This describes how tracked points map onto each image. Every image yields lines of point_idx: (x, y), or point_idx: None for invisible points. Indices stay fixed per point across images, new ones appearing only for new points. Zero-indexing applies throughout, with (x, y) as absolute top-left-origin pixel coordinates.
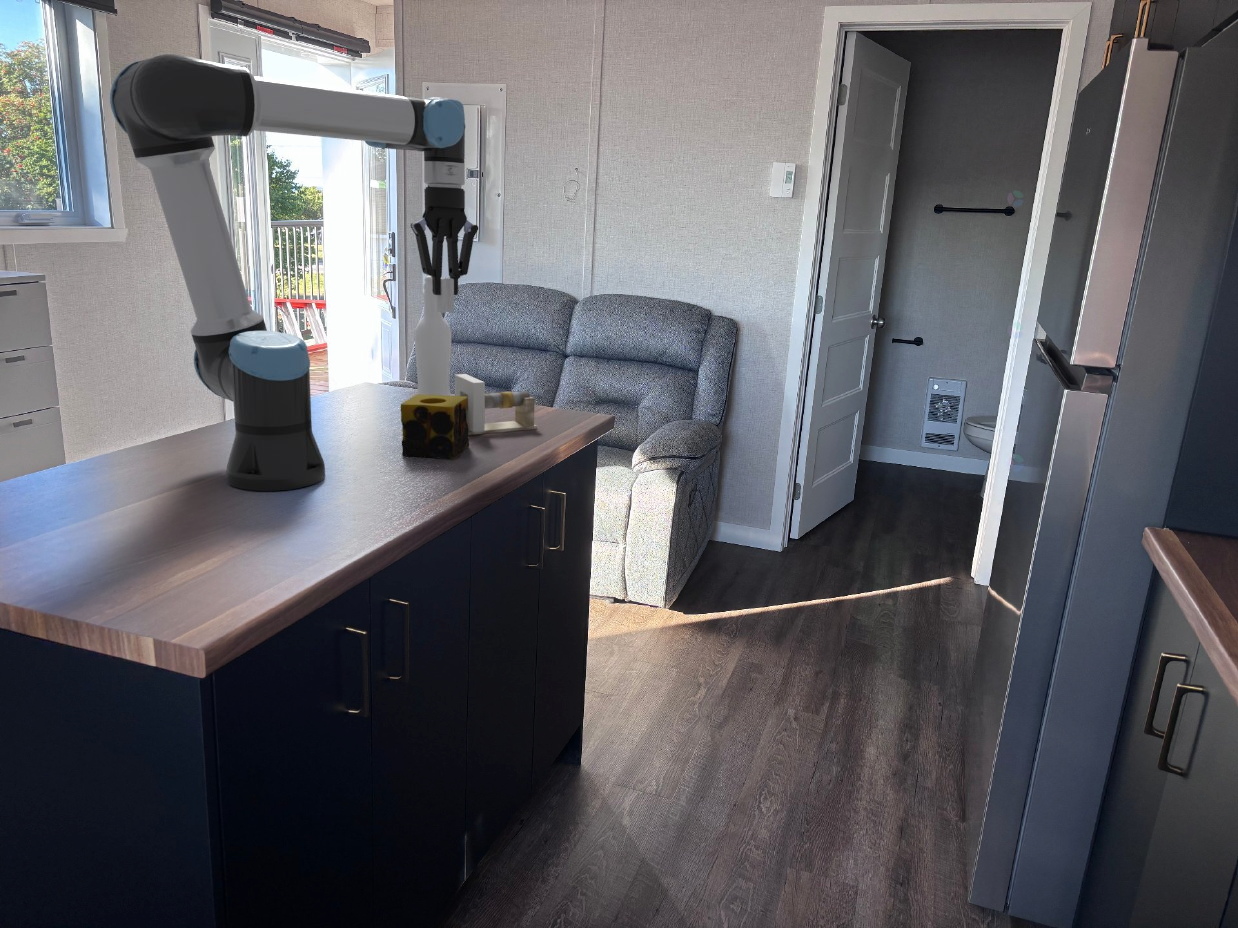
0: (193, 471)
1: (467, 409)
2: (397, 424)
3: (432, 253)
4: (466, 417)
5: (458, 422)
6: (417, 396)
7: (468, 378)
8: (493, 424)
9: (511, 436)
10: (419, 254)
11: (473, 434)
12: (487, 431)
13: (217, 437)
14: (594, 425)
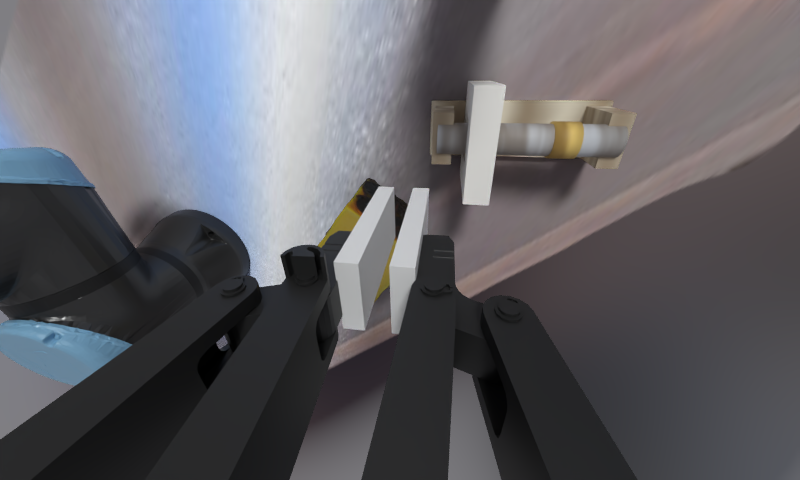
0: (122, 194)
1: None
2: (372, 14)
3: (189, 426)
4: None
5: None
6: (341, 225)
7: (479, 152)
8: (530, 116)
9: (517, 188)
10: (75, 395)
11: None
12: None
13: (82, 13)
14: (714, 172)
